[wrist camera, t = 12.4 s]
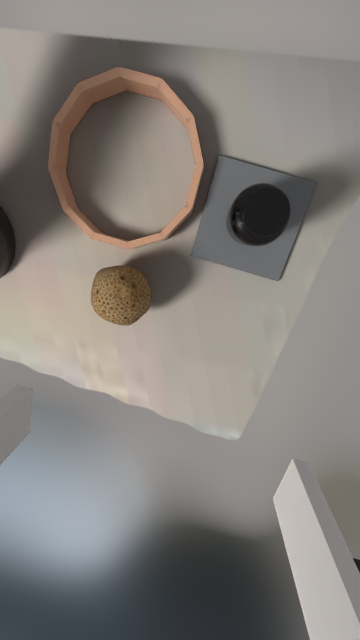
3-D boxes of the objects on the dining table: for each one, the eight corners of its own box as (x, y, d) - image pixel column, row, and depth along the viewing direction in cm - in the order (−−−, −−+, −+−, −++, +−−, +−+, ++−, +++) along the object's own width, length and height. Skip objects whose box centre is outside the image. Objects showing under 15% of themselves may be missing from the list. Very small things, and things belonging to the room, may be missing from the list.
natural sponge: (155, 319, 44) (141, 340, 34) (105, 312, 44) (77, 331, 35) (160, 265, 41) (146, 272, 31) (106, 258, 42) (76, 263, 32)
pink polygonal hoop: (53, 225, 41) (41, 224, 38) (71, 65, 34) (59, 49, 32) (179, 262, 40) (177, 263, 38) (220, 107, 34) (222, 95, 31)
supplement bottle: (235, 188, 36) (248, 163, 25) (281, 204, 36) (315, 185, 25) (218, 237, 38) (223, 234, 27) (261, 251, 38) (285, 255, 27)
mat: (191, 255, 40) (190, 255, 39) (218, 156, 36) (219, 155, 35) (277, 280, 40) (278, 281, 39) (315, 184, 36) (317, 183, 35)
